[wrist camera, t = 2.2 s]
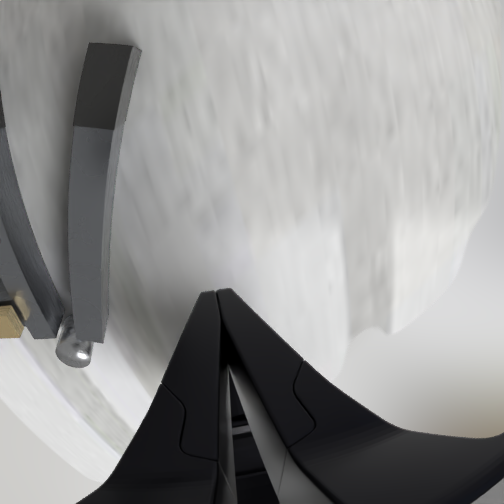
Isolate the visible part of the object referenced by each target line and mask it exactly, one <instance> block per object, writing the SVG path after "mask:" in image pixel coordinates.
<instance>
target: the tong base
mask: <svg viewBox="0 0 504 504" xmlns="http://www.w3.org/2000/svg"><path fill="white" fill-rule="evenodd" d="M8 305H12V307H13V309H14V311H15V313H16V314H17V316H18V318H19V320H20V321H21V323H22V325H23V326H27V328H28V330H29V331H30V333H31V335H32V336H33V338H34V339H48V338H56V336H57V333H58V330H59V327H60V324H61V321H62V318H63V315H64V312H65V308H64V306H63V304H62V302H61V300H60V298H59V296H58V294H57V291H56V289H55V287H54V285H53V282H52V280H51V278H50V275H49V273H48V271H47V268H46V266H45V263H44V261H43V258H42V256H41V253H40V251H39V248H38V245H37V243H36V240H35V237H34V234H33V232H32V229H31V226H30V223H29V220H28V217H27V214H26V211H25V207H24V204H23V201H22V198H21V194H20V191H19V187H18V183H17V180H16V176H15V172H14V168H13V164H12V159H11V155H10V150H9V146H8V141H7V136H6V130H5V121H4V114H3V108H2V100H1V92H0V306H8Z"/></svg>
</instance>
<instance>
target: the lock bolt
mask: <svg viewBox="0 0 504 504" xmlns="http://www.w3.org/2000/svg"><path fill="white" fill-rule="evenodd" d="M23 329H24V326H23V325H22V323H21V321H20V320H19V318H18V316H17V314H16V313H15V311H14V309H13V307H12V305H8V306H0V338H20V336H21V334H22V331H23Z"/></svg>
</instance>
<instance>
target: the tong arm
mask: <svg viewBox="0 0 504 504" xmlns="http://www.w3.org/2000/svg"><path fill="white" fill-rule="evenodd" d="M141 52H142V51H141V50H139V49H137V48H136V47H134V46H128V45H117V44H105V43H89V45H88V49H87V53H86V58H85V62H84V66H83V71H82V76H81V81H80V86H79V91H78V97H77V103H76V109H75V115H74V122H73V126H75V127H74V134H73V143H72V153H71V164H70V178H69V198H68V255H69V275H70V289H71V300H72V310H73V315H70V316H68V317H67V318H66V319H65V320H64V323H63V327H62V330H61V333H60V336H59V340H58V343H57V347H56V355H57V357H58V358H59V359H60V360H61V361H62V362H63V363H65V364H66V365H68V366H71V367H75V368H83V367H86V366H88V365H89V364H90V360H91V355H92V349H93V344H94V342H97V343H103V342H104V336H105V330H106V325H107V320H108V315H109V303H108V295H109V255H110V236H111V222H112V210H113V200H114V190H115V182H116V174H117V166H118V159H119V152H120V146H121V140H122V134H123V128H124V123H125V121H126V117H127V112H128V107H129V102H130V97H131V93H132V88H133V84H134V79H135V75H136V71H137V67H138V63H139V59H140V56H141Z"/></svg>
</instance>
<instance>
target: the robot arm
mask: <svg viewBox="0 0 504 504" xmlns="http://www.w3.org/2000/svg"><path fill="white" fill-rule="evenodd" d="M161 383H162V384H160V385H159V388H158V390H157V392H156V395H155V397H154V399H153V401H152V404H151V406H150V408H149V410H148V412H147V414H146V416H145V418H144V419H143V421H142V423H141V425H140V427H139V428H138V430H137V432H136V434H135V435H134V437H133V439H132V440H131V442H130V444H129V445H128V447H127V449H126V450H125V452H124V454H123V456H122V457H121V459H120V461H119V462H118V464H117V466H116V467H115V469H114V471H113V472H112V474H111V475H110V476H109V478H108V479H107V480H106V481H105V482H104V483H103V484H102V485H101V486H100V487H99V488H98V489H97V490H95V491H94V492H92V493H91V494H89V495H88V496H86V497H85V498H83V499H82V500H80V501H79V502H77V503H76V504H504V433H502V434H500V435H497V436H494V437H490V438H466V437H455V436H445V435H438V434H429V433H423V432H416V431H410V430H406V429H402V428H400V427H397V426H395V425H393V424H391V423H389V422H387V421H385V420H384V419H382V418H381V417H379V416H378V415H376V414H375V413H373V412H371V411H370V410H369V409H367V408H365V407H364V406H363V405H361V404H360V403H358V402H357V401H355V400H354V399H352V398H351V397H350V396H348V395H347V394H345V393H344V392H343V391H341V390H340V389H338V388H337V387H336V386H334V385H333V384H332V383H330V382H329V381H328V380H327V379H326V378H324V377H323V376H322V375H321V374H320V373H319V372H317V371H316V370H315V369H314V368H313V367H312V366H311V365H310V364H309V363H308V362H307V361H305V360H304V359H303V358H302V357H301V356H300V355H299V354H298V353H297V352H296V351H295V350H294V349H293V348H292V347H291V346H290V345H289V344H288V343H286V342H285V341H284V340H283V339H282V338H281V337H280V336H279V335H278V334H277V333H276V332H275V331H274V330H273V329H272V328H271V327H270V326H269V325H268V324H267V323H266V322H265V321H264V320H263V319H262V318H261V317H260V316H259V315H258V314H256V313H255V312H254V311H253V310H252V309H251V308H250V307H249V306H248V305H247V304H246V303H245V302H244V301H243V300H242V299H241V298H240V297H239V296H238V295H237V294H236V293H235V292H234V291H233V290H232V289H231V288H226V289H219V290H217V291H216V292H215V291H214V290H212V291H205V292H201V293H200V295H199V297H198V299H197V301H196V304H195V306H194V308H193V310H192V313H191V315H190V317H189V319H188V322H187V324H186V326H185V328H184V331H183V333H182V335H181V337H180V340H179V342H178V344H177V346H176V349H175V351H174V353H173V356H172V358H171V360H170V362H169V365H168V367H167V369H166V372H165V374H164V376H163V379H162V381H161Z"/></svg>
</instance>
